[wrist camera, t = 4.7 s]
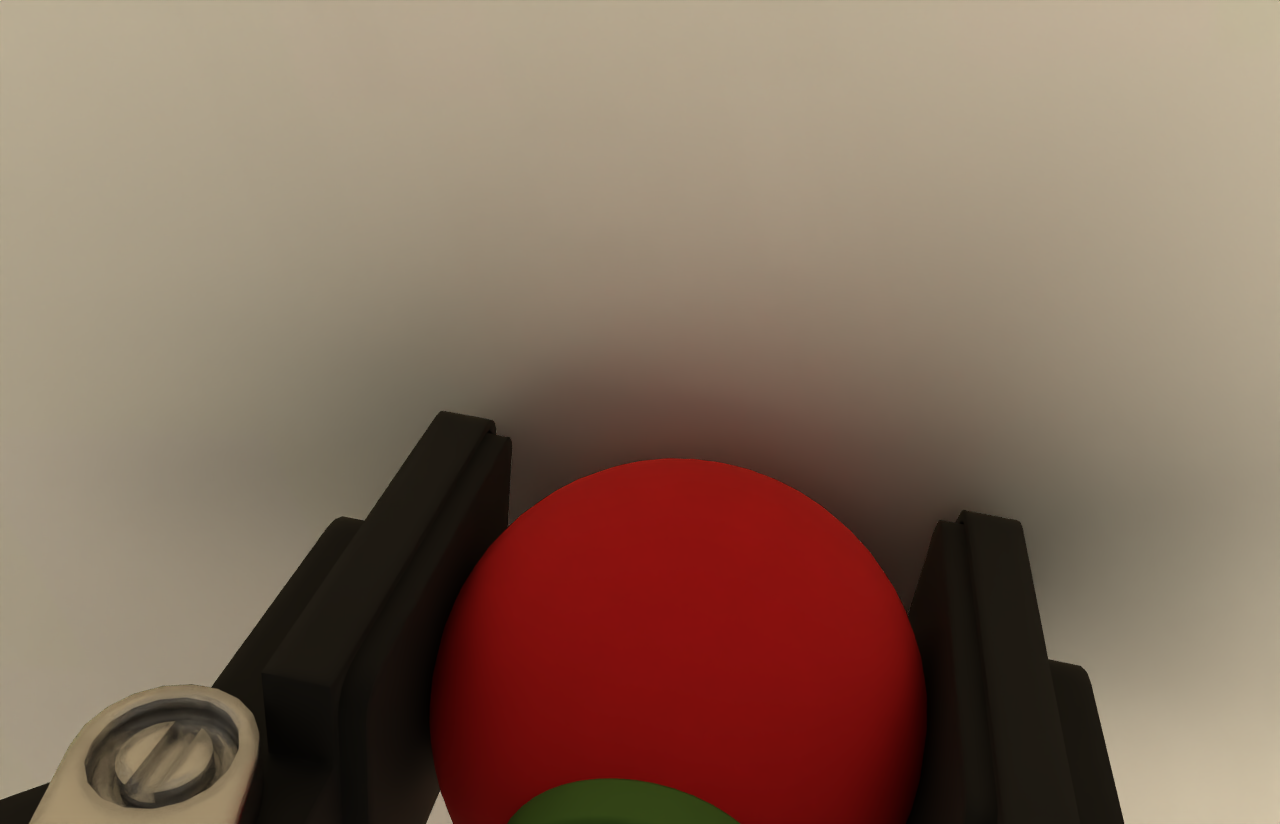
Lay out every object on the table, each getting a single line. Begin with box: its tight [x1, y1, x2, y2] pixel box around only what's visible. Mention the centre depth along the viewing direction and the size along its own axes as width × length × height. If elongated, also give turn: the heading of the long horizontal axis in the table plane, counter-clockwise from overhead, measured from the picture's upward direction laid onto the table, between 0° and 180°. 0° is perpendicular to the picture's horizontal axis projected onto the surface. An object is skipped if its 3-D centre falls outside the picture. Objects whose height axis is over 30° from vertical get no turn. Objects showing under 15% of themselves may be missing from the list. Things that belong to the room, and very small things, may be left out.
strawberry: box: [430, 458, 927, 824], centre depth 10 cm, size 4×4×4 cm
